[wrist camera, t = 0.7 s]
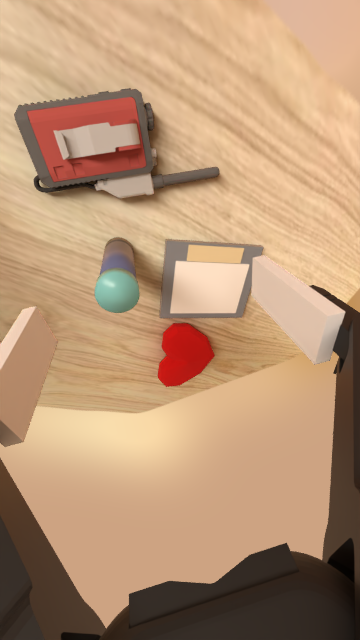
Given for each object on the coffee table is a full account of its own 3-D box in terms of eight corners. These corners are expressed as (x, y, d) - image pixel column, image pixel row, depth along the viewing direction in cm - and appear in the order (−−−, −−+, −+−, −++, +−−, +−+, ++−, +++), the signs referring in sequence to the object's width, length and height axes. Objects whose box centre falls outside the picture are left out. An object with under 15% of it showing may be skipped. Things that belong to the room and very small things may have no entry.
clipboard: (159, 315, 38) (160, 318, 37) (165, 239, 32) (166, 241, 31) (239, 314, 41) (242, 318, 40) (260, 245, 35) (264, 247, 34)
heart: (215, 319, 43) (161, 319, 39) (226, 330, 39) (169, 330, 36) (203, 373, 48) (154, 378, 44) (212, 387, 44) (159, 393, 40)
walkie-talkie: (49, 209, 28) (215, 181, 29) (38, 217, 24) (228, 184, 26) (7, 109, 22) (212, 82, 24) (-14, 100, 19) (228, 69, 21)
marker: (104, 265, 32) (96, 313, 22) (102, 235, 30) (92, 273, 20) (134, 266, 33) (138, 312, 23) (134, 237, 31) (139, 275, 21)
